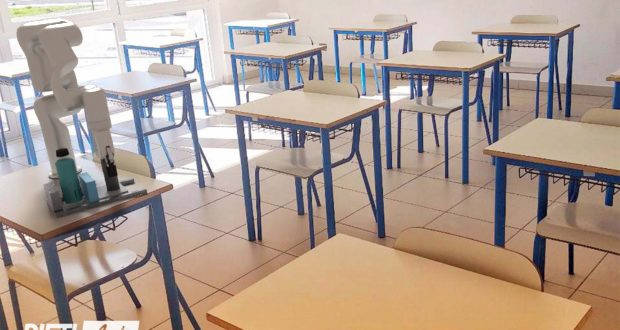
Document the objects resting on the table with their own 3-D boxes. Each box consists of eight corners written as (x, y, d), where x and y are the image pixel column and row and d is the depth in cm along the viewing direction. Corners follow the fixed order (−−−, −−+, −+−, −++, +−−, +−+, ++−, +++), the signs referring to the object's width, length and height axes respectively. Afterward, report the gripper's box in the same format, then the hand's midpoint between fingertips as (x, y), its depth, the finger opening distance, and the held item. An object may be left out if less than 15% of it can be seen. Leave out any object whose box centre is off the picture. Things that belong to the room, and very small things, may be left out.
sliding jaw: (82, 195, 223) (74, 159, 219) (119, 185, 229) (112, 150, 225) (91, 204, 213) (82, 167, 209) (128, 194, 219) (121, 157, 215)
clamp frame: (47, 204, 220) (42, 182, 217) (133, 181, 234) (129, 161, 231) (56, 218, 206) (51, 195, 203) (147, 193, 220) (143, 171, 218)
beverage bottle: (78, 208, 213) (65, 151, 206) (60, 208, 214) (47, 152, 208) (88, 201, 219) (75, 145, 212) (71, 201, 220) (58, 146, 214)
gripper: (82, 122, 220) (93, 171, 226) (94, 131, 206) (105, 183, 212) (104, 118, 224) (114, 165, 229) (117, 126, 209) (128, 177, 215)
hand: (110, 173), depth 220 cm, fingers open, 6 cm apart
